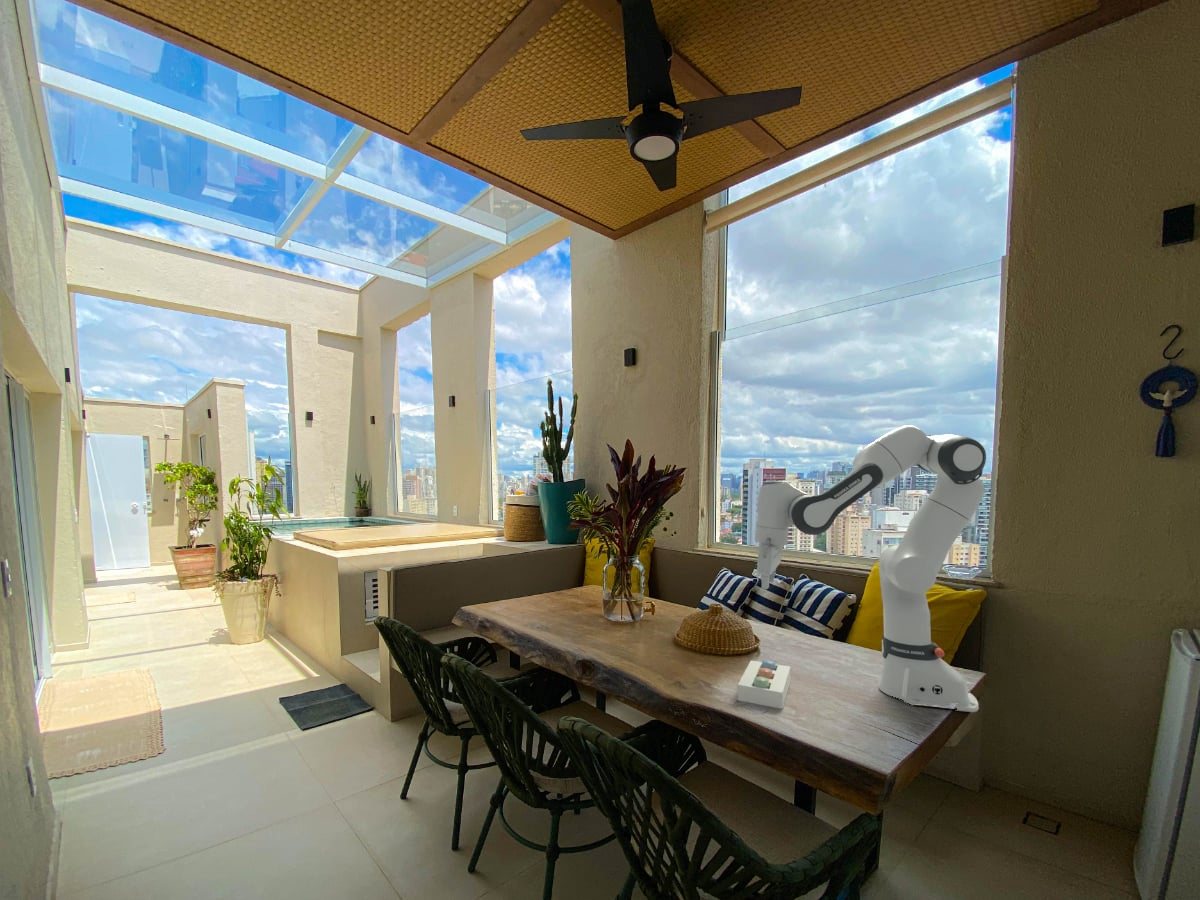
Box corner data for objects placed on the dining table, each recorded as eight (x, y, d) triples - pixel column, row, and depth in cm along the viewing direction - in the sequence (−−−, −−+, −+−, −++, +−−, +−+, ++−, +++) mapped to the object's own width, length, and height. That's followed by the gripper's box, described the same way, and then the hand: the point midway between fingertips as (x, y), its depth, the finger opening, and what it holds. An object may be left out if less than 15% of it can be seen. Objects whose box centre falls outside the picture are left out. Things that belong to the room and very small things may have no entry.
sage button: (769, 689, 133) (769, 678, 134) (767, 695, 130) (767, 683, 130) (755, 687, 135) (755, 675, 135) (753, 692, 132) (753, 680, 132)
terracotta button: (773, 680, 140) (773, 669, 140) (771, 685, 136) (771, 673, 137) (759, 678, 141) (759, 667, 141) (757, 682, 138) (757, 671, 138)
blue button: (776, 671, 146) (776, 661, 146) (774, 676, 143) (774, 665, 143) (763, 669, 148) (763, 659, 148) (761, 673, 144) (761, 663, 144)
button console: (790, 681, 145) (790, 666, 146) (782, 709, 127) (782, 692, 128) (750, 674, 150) (750, 660, 150) (737, 700, 132) (737, 684, 132)
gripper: (777, 542, 135) (773, 595, 135) (787, 534, 153) (784, 580, 153) (753, 539, 138) (749, 590, 138) (765, 531, 156) (762, 576, 156)
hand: (767, 584), depth 145 cm, fingers open, 8 cm apart
